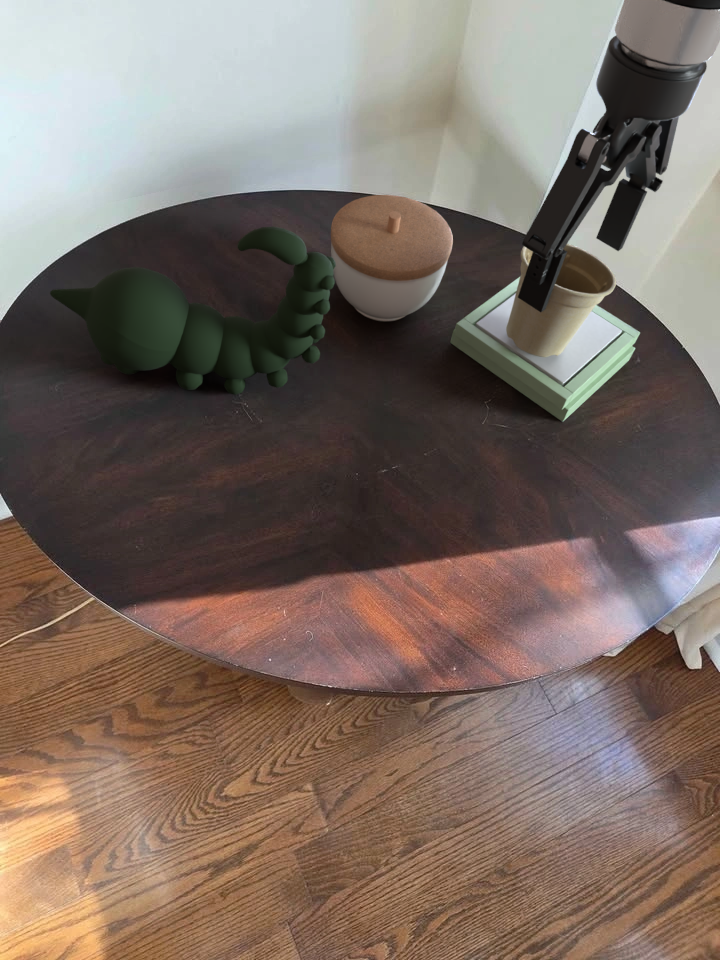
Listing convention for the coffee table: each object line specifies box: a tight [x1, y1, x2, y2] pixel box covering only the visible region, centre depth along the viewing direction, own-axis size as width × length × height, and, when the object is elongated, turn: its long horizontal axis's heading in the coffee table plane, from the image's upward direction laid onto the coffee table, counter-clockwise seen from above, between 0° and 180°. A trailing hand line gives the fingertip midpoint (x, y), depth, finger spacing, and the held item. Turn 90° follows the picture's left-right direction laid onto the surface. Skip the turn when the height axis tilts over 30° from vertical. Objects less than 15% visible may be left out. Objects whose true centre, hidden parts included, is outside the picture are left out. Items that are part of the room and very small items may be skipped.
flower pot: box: [506, 243, 617, 357], centre depth 76 cm, size 9×9×9 cm
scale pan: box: [475, 294, 622, 387], centre depth 82 cm, size 11×11×2 cm
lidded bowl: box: [330, 194, 454, 322], centre depth 83 cm, size 13×13×11 cm
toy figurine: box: [49, 226, 336, 396], centre depth 71 cm, size 9×19×25 cm
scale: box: [450, 276, 641, 423], centre depth 83 cm, size 15×14×4 cm
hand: (571, 272), depth 76 cm, fingers open, 13 cm apart
